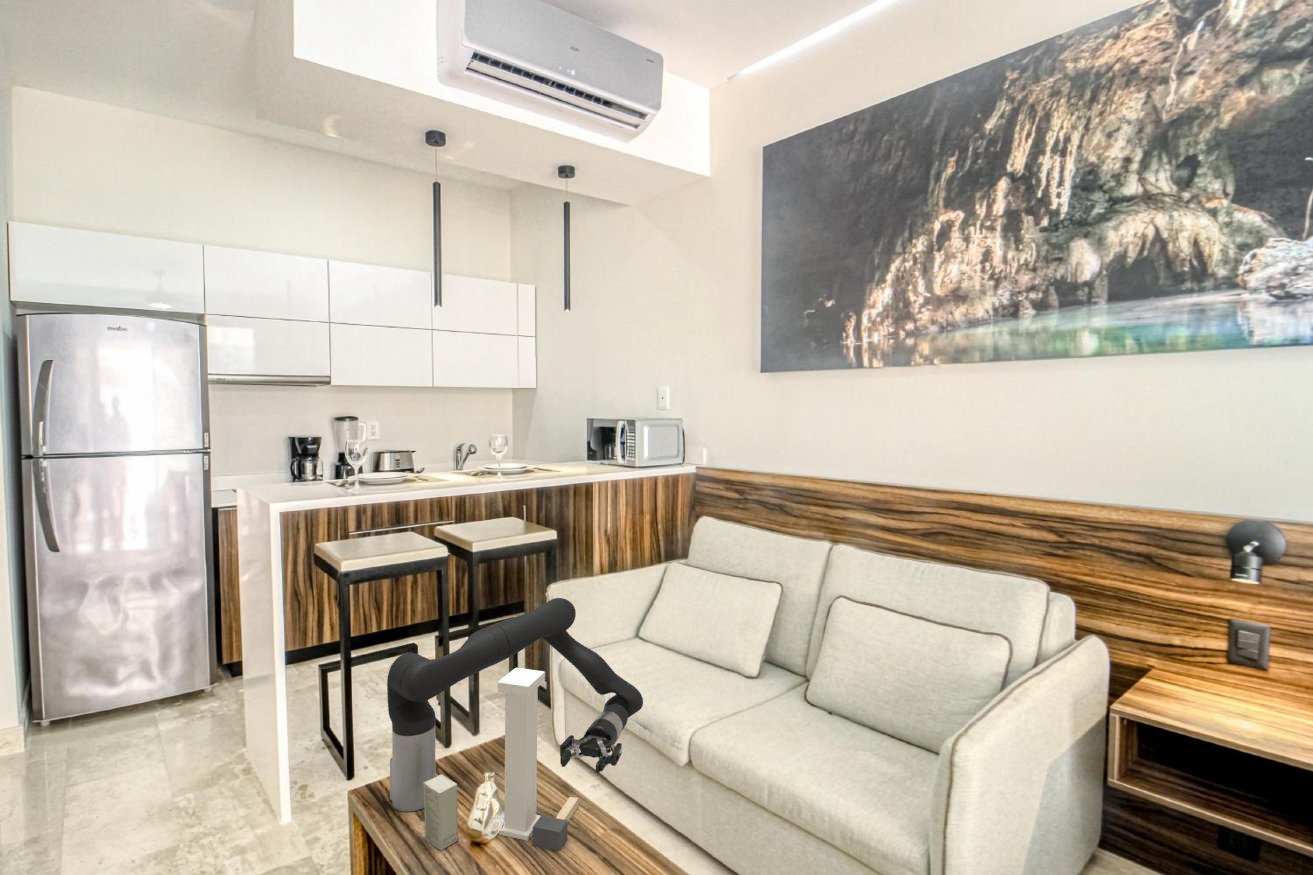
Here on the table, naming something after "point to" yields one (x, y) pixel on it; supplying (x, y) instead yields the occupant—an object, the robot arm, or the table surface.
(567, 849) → the table surface
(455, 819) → the skincare box
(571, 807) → the rubber mallet
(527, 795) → the pale stand
